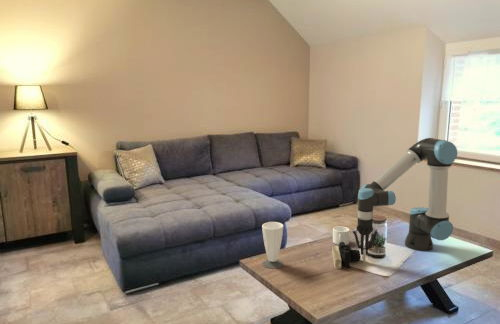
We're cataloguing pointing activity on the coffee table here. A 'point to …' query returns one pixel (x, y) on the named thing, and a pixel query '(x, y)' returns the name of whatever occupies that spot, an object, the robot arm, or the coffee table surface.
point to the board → (336, 257)
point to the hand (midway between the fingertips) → (363, 260)
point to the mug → (341, 235)
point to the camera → (348, 255)
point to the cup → (272, 243)
